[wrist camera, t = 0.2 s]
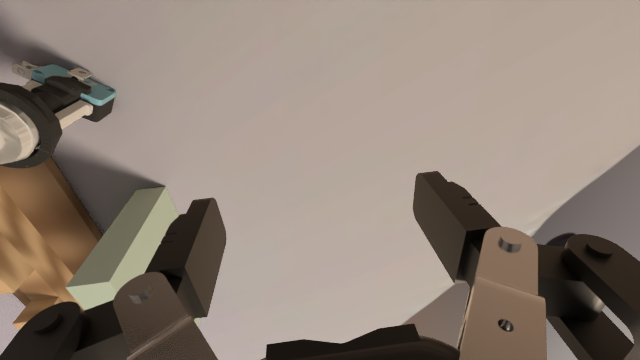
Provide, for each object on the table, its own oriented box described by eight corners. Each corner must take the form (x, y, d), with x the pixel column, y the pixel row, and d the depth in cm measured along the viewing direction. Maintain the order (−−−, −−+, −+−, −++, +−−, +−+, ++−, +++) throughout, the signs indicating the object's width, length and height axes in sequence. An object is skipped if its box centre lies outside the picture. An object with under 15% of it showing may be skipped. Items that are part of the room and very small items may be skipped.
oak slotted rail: (-98, 170, 27) (-193, 215, 22) (48, 153, 28) (-9, 194, 22) (60, 328, 41) (26, 379, 36) (154, 315, 42) (135, 363, 37)
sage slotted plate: (136, 189, 31) (65, 287, 21) (165, 186, 31) (109, 281, 21) (186, 287, 39) (153, 388, 29) (209, 284, 40) (183, 384, 30)
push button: (25, 92, 25) (-108, 145, 16) (30, 29, 22) (-122, 54, 14) (113, 126, 27) (36, 189, 19) (126, 73, 25) (45, 117, 16)
